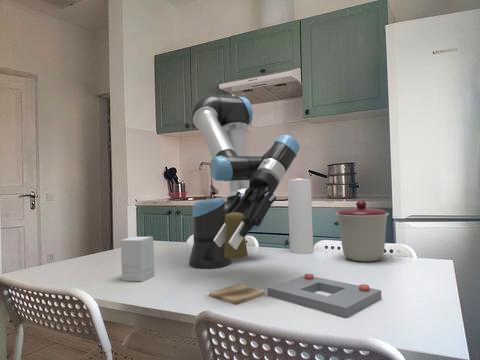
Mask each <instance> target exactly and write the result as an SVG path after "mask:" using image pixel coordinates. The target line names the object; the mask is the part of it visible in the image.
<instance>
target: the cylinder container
mask: <svg viewBox="0 0 480 360" xmlns="http://www.w3.org/2000/svg"><path fill="white" fill-rule="evenodd" d="M287 200H288V203H287V205H288V206H287V207H288V227H289V228H288V231H289V233H288V234H289V252H290V253H292V254H299V255H302V254H312V253H313V252H314V238H313V237H314V234H313V207H312V206H313V205H312V179H311V178H310V179H309V178H303V177H300V178H297V177H296V178H295V179H294V178H293V179H287Z"/></svg>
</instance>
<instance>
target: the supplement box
mask: <svg viewBox="0 0 480 360" xmlns="http://www.w3.org/2000/svg"><path fill="white" fill-rule="evenodd" d="M154 251H155V250H154V237H153V236H131V237H127V238H123V239H120V255H121V257H120V258H121V261H120V262H121V280H122V281H123V282H124V281H127V282H128V281H130V282H144V281H146V280H149V279H151V278H153V277H155V258H154V257H155V253H154Z"/></svg>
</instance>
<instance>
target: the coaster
mask: <svg viewBox="0 0 480 360" xmlns="http://www.w3.org/2000/svg"><path fill="white" fill-rule="evenodd" d="M265 292H266V291H264V290H262V289H257V288H254V287H250V286H246V285H243V284H240V283H238V284H234V285H231V286H228V287H224V288H221V289H218V290H214V291H211V292H209V296H210V297H211V298H215V299H218V300H222V301H223V302H227V303H229V304H233V305H235V306H236V305H239V304H242V303H246V302H247V301H250V300H253V299H256V298H259V297H263V296H265V295H266V293H265Z"/></svg>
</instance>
